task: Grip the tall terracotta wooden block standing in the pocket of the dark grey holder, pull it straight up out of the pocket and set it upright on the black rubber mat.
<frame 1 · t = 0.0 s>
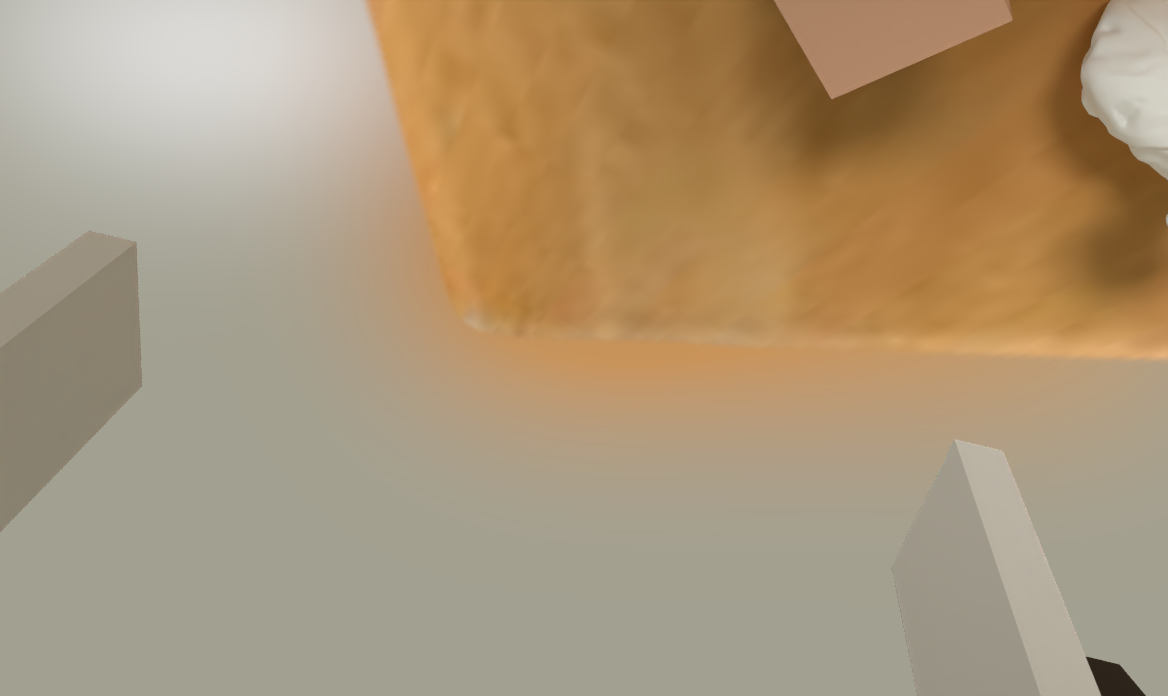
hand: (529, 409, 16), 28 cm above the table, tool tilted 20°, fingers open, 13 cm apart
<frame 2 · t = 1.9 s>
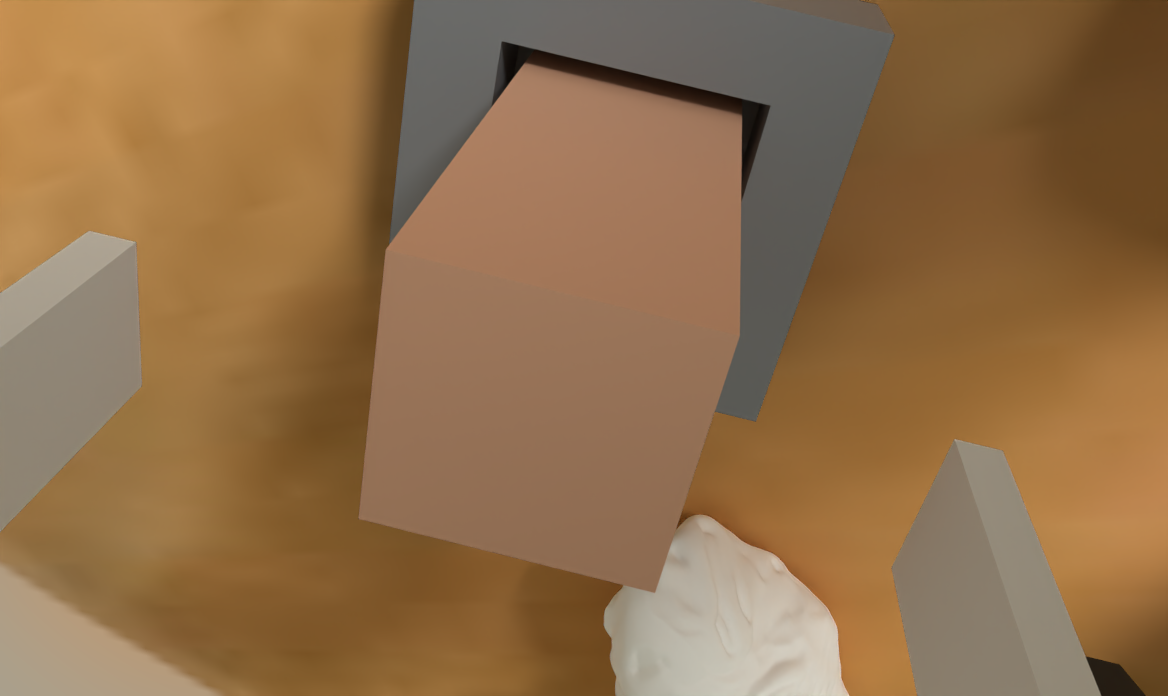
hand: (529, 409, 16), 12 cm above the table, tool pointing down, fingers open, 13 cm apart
holder: (621, 155, 26), on the table
bust: (728, 615, 33), on the table
block: (619, 162, 25), resting on holder
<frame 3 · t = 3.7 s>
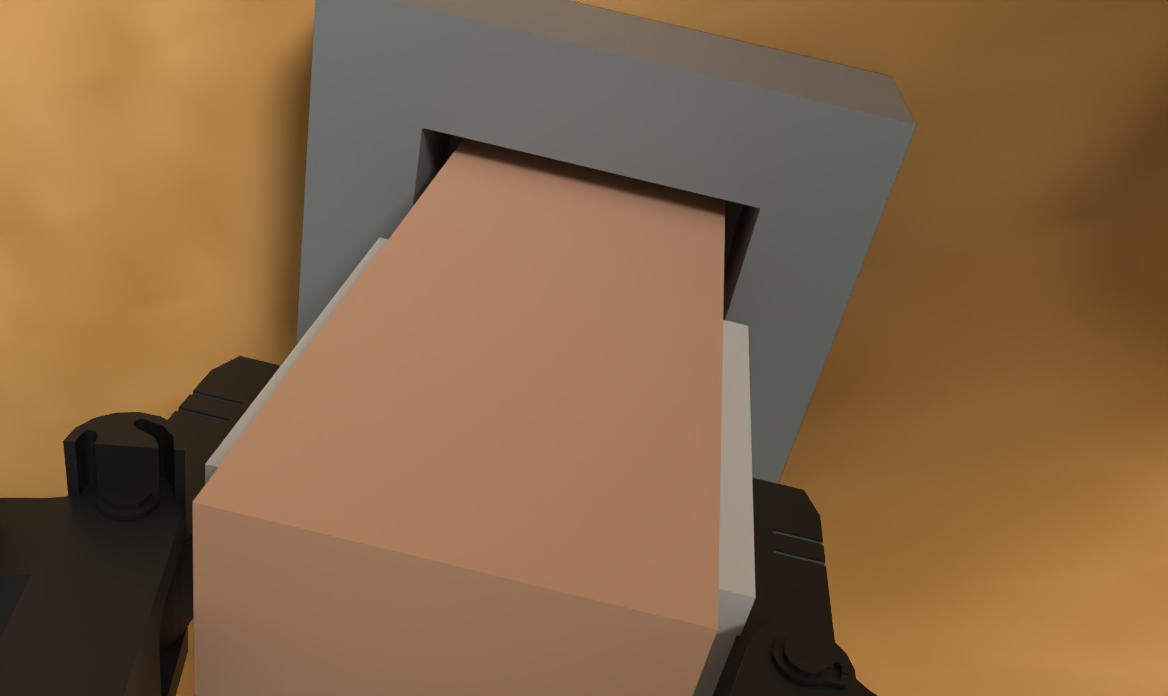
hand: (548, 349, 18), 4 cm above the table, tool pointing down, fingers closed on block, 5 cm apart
holder: (580, 250, 21), on the table
block: (577, 260, 21), point 1 cm above the table, touching gripper, holder
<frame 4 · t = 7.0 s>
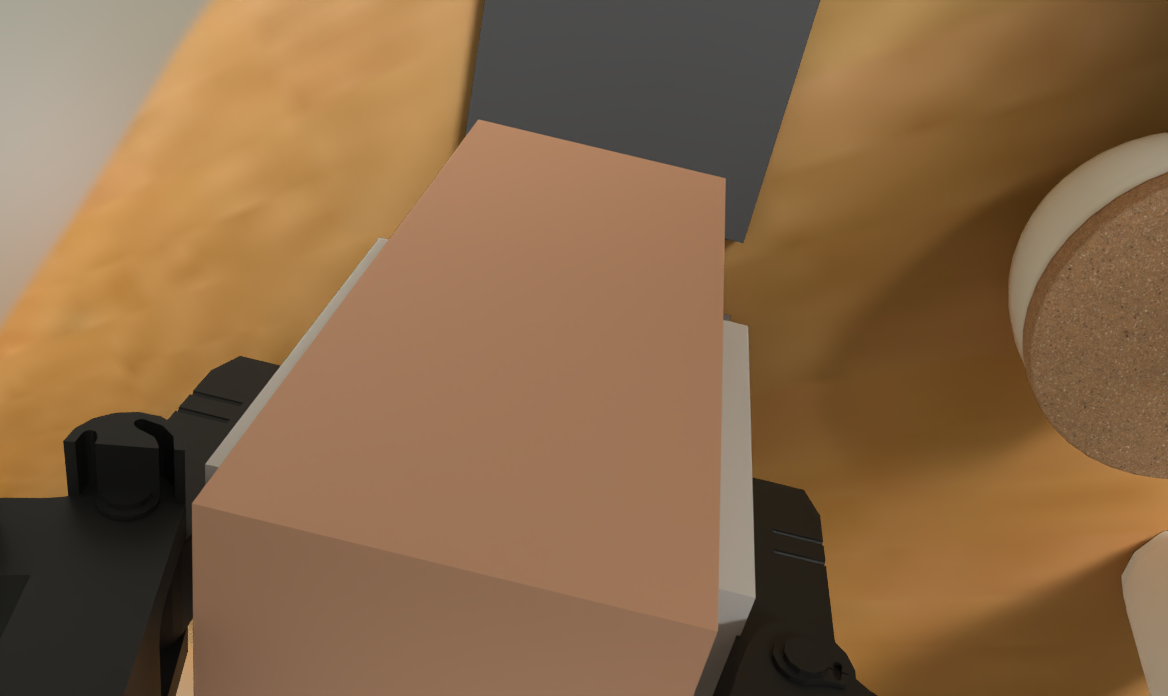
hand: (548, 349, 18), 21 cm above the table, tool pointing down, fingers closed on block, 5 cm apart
lidded jar: (1128, 233, 36), on the table
block: (577, 261, 21), point 17 cm above the table, touching gripper
mat: (636, 59, 35), on the table
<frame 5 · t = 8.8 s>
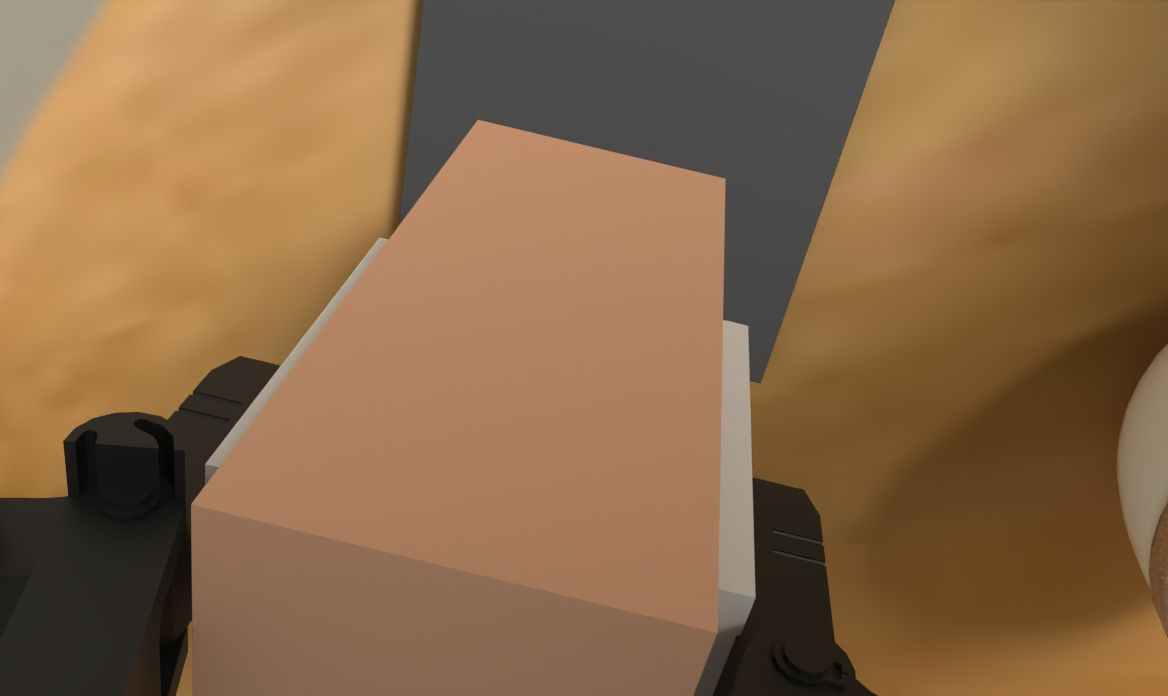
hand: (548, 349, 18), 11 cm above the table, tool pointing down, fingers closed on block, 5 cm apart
block: (577, 261, 21), point 7 cm above the table, touching gripper
mat: (618, 151, 26), on the table
when the fingers open (6 cm above the table, at t = 10.4 s): block drops 2 cm, resting on mat.
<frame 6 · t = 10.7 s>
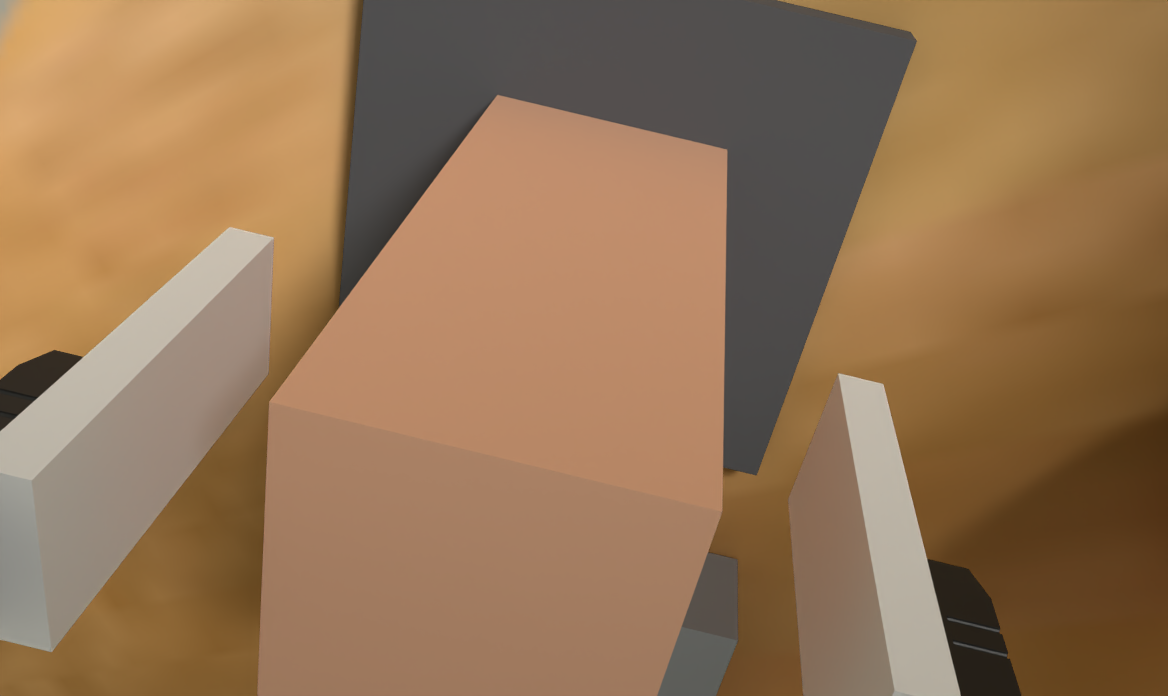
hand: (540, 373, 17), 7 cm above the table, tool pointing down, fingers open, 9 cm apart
holder: (531, 640, 30), on the table
block: (588, 228, 22), point 1 cm above the table, touching mat
mat: (591, 215, 23), on the table
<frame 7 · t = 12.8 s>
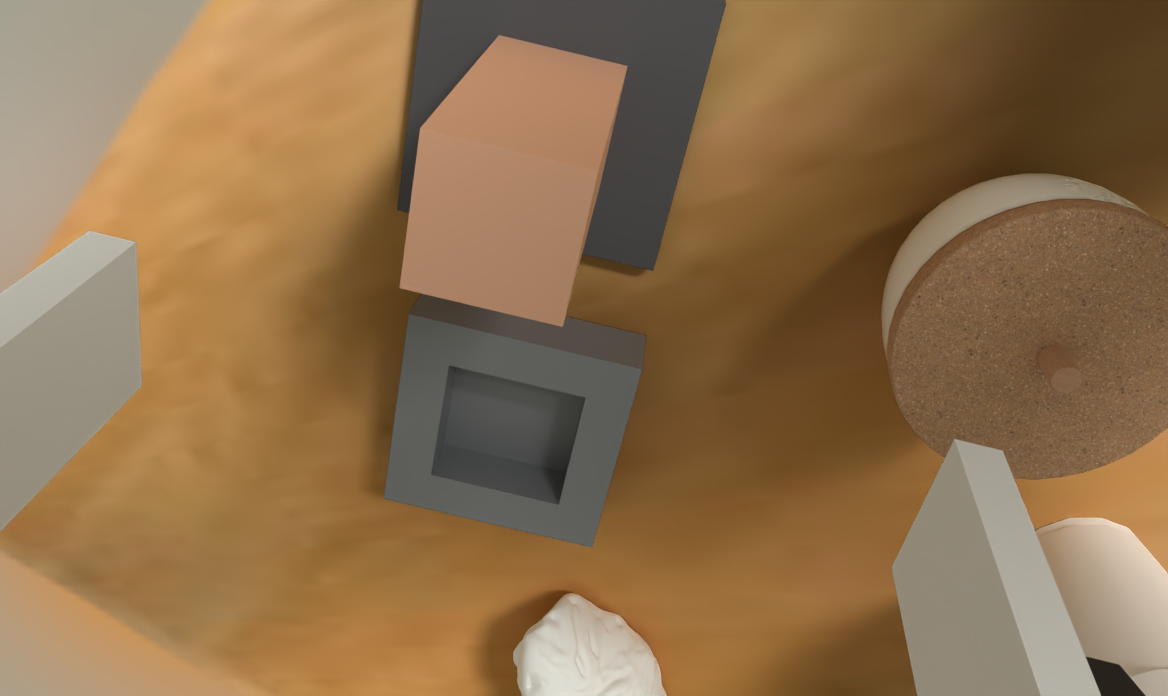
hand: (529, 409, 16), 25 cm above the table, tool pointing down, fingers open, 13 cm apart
lidded jar: (992, 260, 41), on the table
holder: (516, 401, 46), on the table
bust: (595, 652, 54), on the table
foam cup: (1074, 565, 48), on the table
block: (550, 114, 39), point 1 cm above the table, touching mat
mat: (552, 108, 39), on the table
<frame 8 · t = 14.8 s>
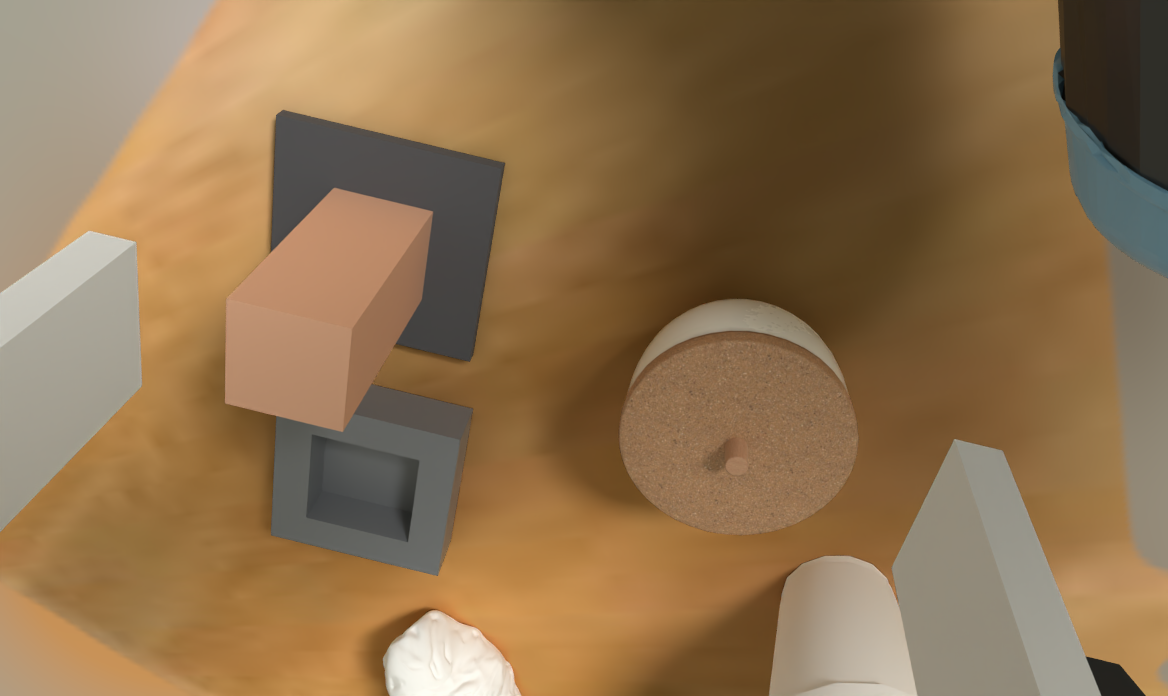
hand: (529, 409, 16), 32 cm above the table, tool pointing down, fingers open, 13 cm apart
lidded jar: (736, 356, 51), on the table
holder: (377, 457, 58), on the table
bust: (461, 657, 65), on the table
foam cup: (835, 593, 58), on the table
block: (379, 245, 50), point 1 cm above the table, touching mat
mat: (383, 238, 50), on the table
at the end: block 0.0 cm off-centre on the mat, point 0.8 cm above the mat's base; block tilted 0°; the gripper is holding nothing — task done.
